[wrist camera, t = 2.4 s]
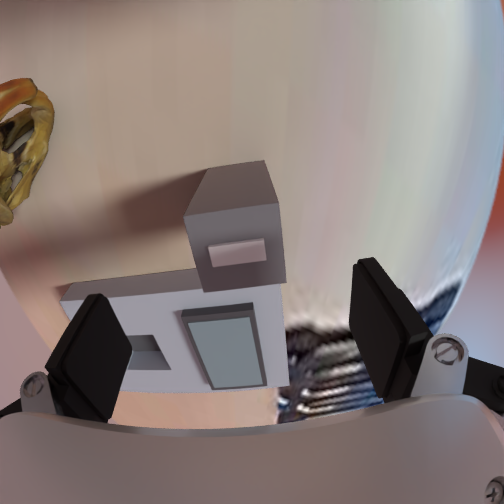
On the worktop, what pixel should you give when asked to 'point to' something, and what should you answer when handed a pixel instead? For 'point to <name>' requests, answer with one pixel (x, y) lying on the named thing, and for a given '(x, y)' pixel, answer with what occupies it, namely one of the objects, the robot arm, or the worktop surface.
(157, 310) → the dock board
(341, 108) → the worktop surface
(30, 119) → the animal skull
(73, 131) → the worktop surface
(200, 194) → the block
